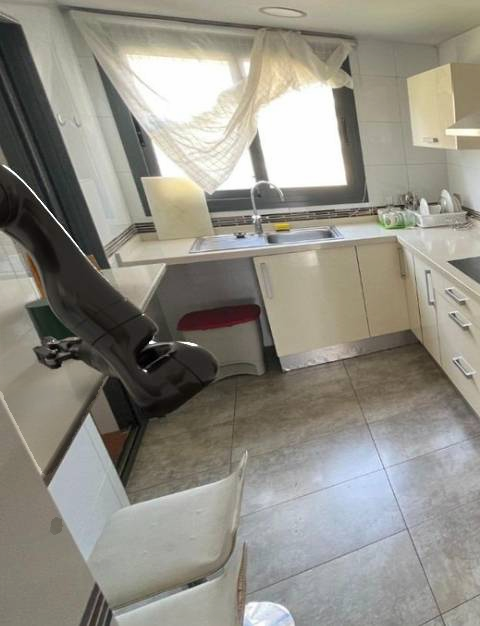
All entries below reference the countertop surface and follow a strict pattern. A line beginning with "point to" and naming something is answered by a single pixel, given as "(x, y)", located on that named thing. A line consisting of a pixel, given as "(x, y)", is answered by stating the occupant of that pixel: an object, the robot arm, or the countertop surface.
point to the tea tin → (47, 321)
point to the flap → (93, 261)
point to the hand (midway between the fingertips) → (79, 333)
